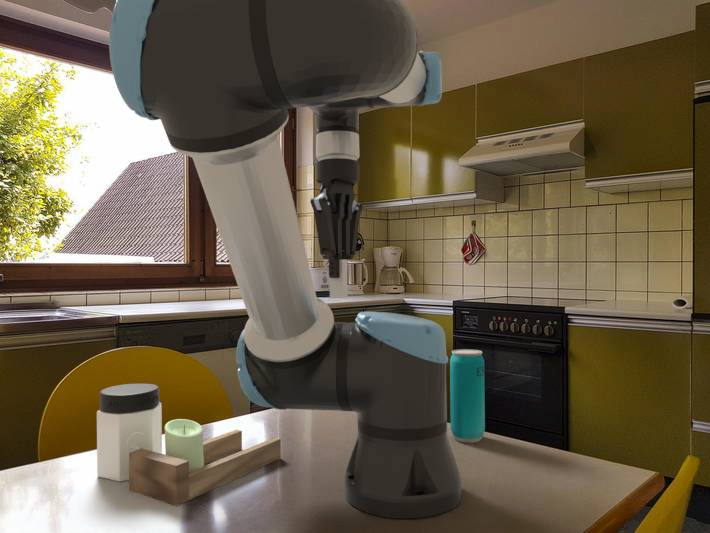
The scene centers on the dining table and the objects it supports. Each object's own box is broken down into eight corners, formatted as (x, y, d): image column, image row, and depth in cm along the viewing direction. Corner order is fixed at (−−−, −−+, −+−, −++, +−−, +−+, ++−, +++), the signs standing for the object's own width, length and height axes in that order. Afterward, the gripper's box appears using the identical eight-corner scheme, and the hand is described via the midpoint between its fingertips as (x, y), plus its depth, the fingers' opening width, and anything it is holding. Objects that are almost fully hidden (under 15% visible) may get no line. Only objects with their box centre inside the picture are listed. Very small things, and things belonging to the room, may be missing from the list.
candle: (211, 479, 77) (209, 420, 77) (182, 491, 73) (179, 429, 73) (189, 472, 80) (186, 415, 80) (159, 484, 76) (156, 424, 76)
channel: (280, 458, 86) (280, 426, 86) (176, 505, 69) (176, 465, 69) (236, 447, 91) (236, 417, 91) (129, 490, 74) (129, 452, 74)
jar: (102, 486, 75) (101, 398, 75) (92, 468, 82) (92, 387, 82) (169, 472, 80) (168, 390, 80) (155, 456, 87) (154, 380, 87)
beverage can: (489, 437, 95) (488, 350, 95) (478, 446, 91) (477, 355, 91) (458, 432, 99) (457, 347, 99) (445, 440, 94) (444, 352, 94)
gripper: (340, 168, 103) (341, 294, 103) (296, 157, 92) (298, 298, 92) (375, 164, 99) (376, 295, 99) (334, 151, 88) (335, 299, 88)
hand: (338, 297), depth 95 cm, fingers closed
